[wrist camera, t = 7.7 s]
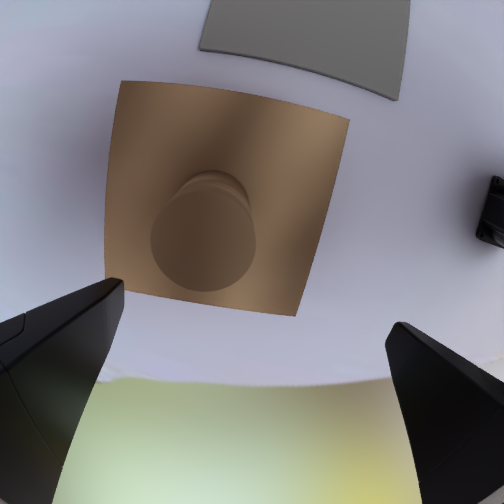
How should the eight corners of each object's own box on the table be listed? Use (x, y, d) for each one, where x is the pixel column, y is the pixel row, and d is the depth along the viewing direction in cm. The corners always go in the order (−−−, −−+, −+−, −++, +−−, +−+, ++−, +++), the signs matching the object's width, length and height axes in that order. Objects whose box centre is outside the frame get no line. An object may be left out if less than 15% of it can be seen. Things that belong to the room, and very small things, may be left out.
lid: (341, 120, 14) (403, 118, 8) (291, 305, 18) (314, 380, 12) (129, 83, 12) (69, 62, 7) (112, 276, 16) (68, 340, 11)
